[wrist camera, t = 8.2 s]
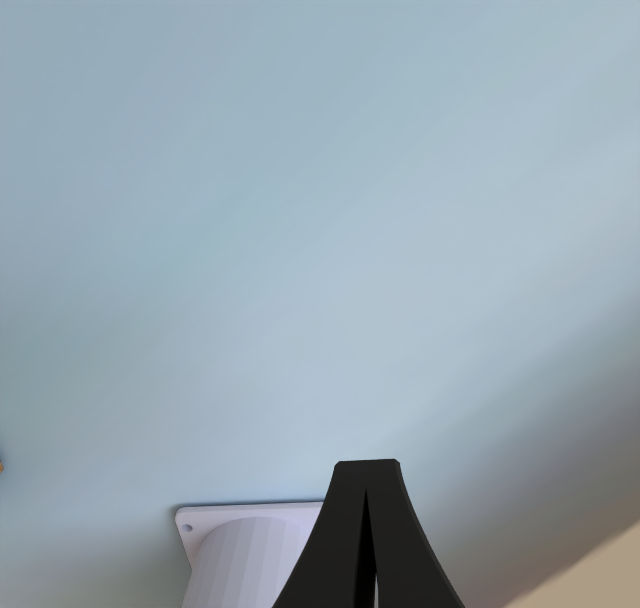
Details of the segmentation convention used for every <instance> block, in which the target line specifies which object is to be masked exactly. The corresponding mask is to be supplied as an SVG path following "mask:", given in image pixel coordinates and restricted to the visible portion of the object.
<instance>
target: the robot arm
mask: <svg viewBox="0 0 640 608" xmlns="http://www.w3.org/2000/svg"><path fill="white" fill-rule="evenodd" d="M175 522H176V525H177V528H178V531H179V534H180V537H181V540H182V543H183V545H184V548H185V551H186V554H187V557H188V560H189V563H190V566H191V569H192V573H191V577H190V580H189V583H188V586H187V590H186V593H185V596H184V599H183V603H182V606H181V608H374V601H375V582H376V576H377V584H378V608H465V606H464V605H463V603H462V602H461V600H460V598H459V597H458V595H457V593H456V592H455V590H454V588H453V587H452V585H451V583H450V581H449V580H448V578H447V576H446V574H445V572H444V571H443V569H442V567H441V565H440V563H439V561H438V560H437V558H436V556H435V554H434V552H433V550H432V548H431V546H430V544H429V542H428V540H427V538H426V535H425V533H424V531H423V529H422V527H421V525H420V523H419V521H418V518H417V516H416V514H415V511H414V509H413V506H412V504H411V501H410V498H409V496H408V493H407V490H406V487H405V484H404V481H403V477H402V473H401V468H400V463H399V462H398V461H397V460H395V459H378V460H357V461H339V462H338V463H337V464H336V465H335V467H334V471H333V475H332V479H331V482H330V485H329V488H328V491H327V494H326V497H325V500H324V502H306V503H280V504H255V505H229V506H203V507H183V508H180V509H178V510H177V512H176V515H175ZM187 524H188V525H187Z"/></svg>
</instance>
